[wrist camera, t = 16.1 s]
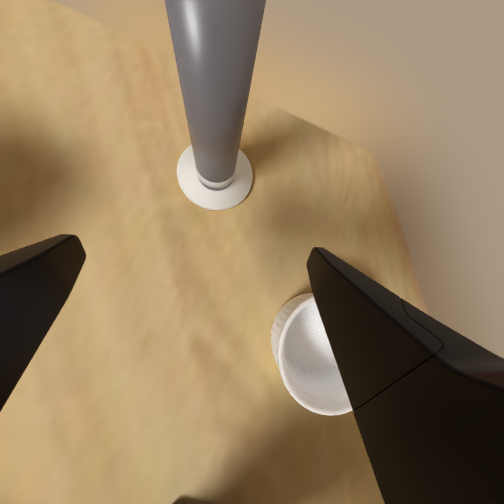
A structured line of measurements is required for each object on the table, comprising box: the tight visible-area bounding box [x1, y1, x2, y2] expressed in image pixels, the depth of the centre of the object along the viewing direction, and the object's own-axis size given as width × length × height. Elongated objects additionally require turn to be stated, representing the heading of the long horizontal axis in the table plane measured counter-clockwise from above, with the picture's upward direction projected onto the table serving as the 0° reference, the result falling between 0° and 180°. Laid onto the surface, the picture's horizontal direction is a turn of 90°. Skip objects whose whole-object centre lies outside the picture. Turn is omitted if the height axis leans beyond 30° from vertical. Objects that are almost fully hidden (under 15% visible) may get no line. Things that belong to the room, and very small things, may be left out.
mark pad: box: [177, 144, 253, 211], centre depth 19 cm, size 7×7×1 cm
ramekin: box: [271, 293, 353, 416], centre depth 17 cm, size 9×9×4 cm
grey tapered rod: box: [165, 0, 266, 191], centre depth 13 cm, size 4×4×13 cm
